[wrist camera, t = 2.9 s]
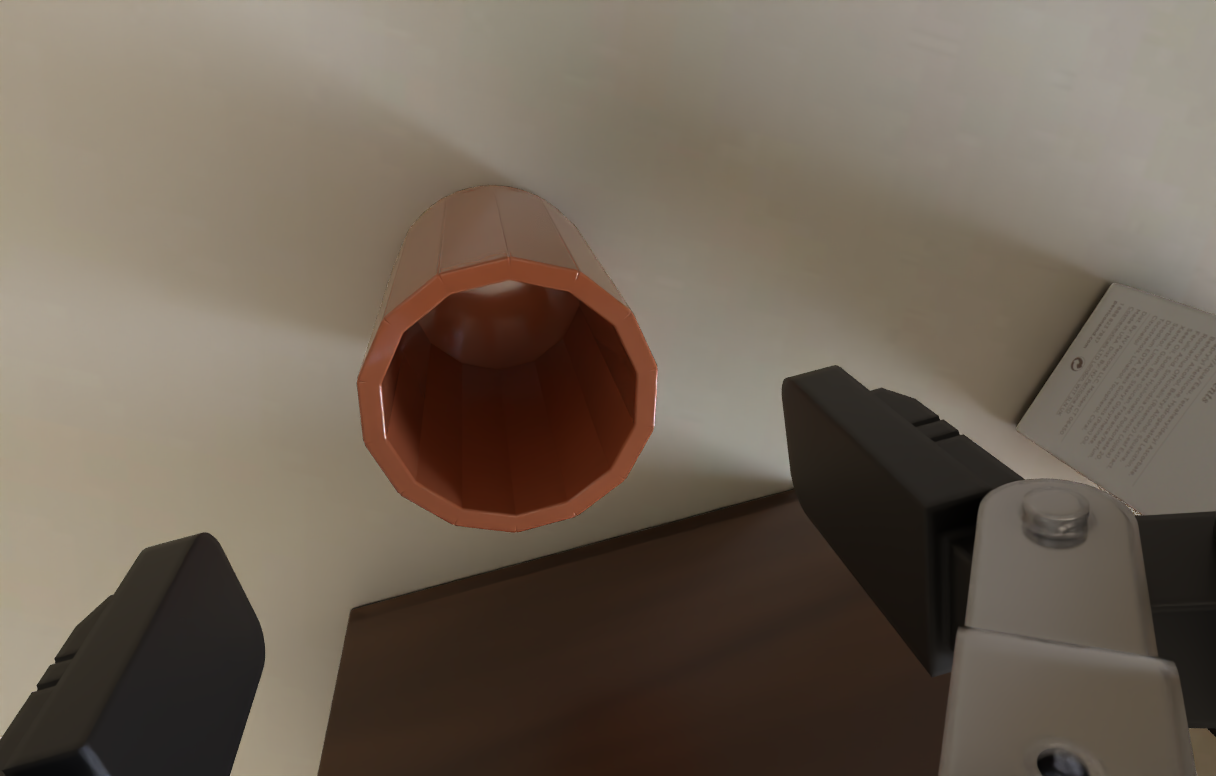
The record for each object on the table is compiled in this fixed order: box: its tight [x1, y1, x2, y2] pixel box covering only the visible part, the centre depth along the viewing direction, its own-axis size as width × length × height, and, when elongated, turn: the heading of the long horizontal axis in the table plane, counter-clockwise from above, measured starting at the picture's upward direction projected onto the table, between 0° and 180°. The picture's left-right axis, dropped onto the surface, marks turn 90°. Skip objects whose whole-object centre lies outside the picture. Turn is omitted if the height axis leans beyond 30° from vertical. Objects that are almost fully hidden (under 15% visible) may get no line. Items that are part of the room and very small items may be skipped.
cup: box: [357, 185, 658, 532], centre depth 17 cm, size 5×5×8 cm
